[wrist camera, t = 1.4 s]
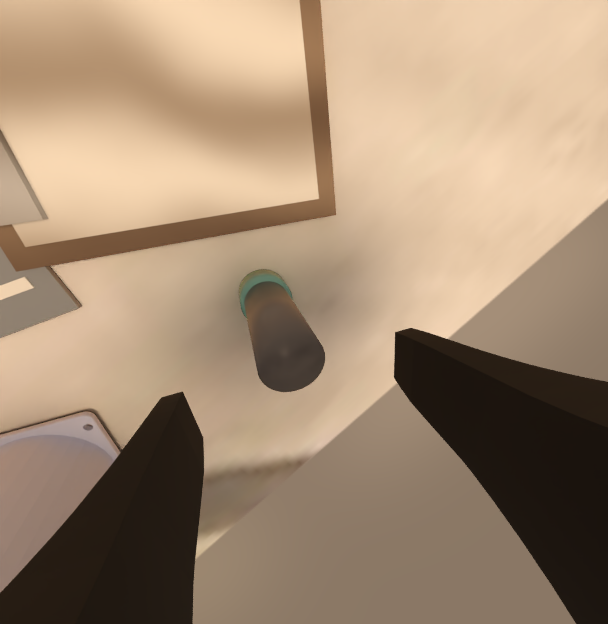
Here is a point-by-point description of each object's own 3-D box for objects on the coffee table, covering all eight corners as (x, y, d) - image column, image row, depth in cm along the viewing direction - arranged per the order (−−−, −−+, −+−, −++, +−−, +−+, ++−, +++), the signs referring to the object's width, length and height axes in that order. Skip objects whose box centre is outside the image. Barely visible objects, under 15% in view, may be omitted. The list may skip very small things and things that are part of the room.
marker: (289, 307, 18) (333, 383, 11) (244, 318, 17) (261, 405, 10) (282, 265, 17) (326, 319, 10) (233, 274, 16) (242, 340, 9)
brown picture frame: (331, 213, 16) (340, 215, 15) (27, 267, 13) (7, 275, 12) (305, -98, 11) (316, -135, 10) (-218, -129, 8) (-300, -189, 7)
